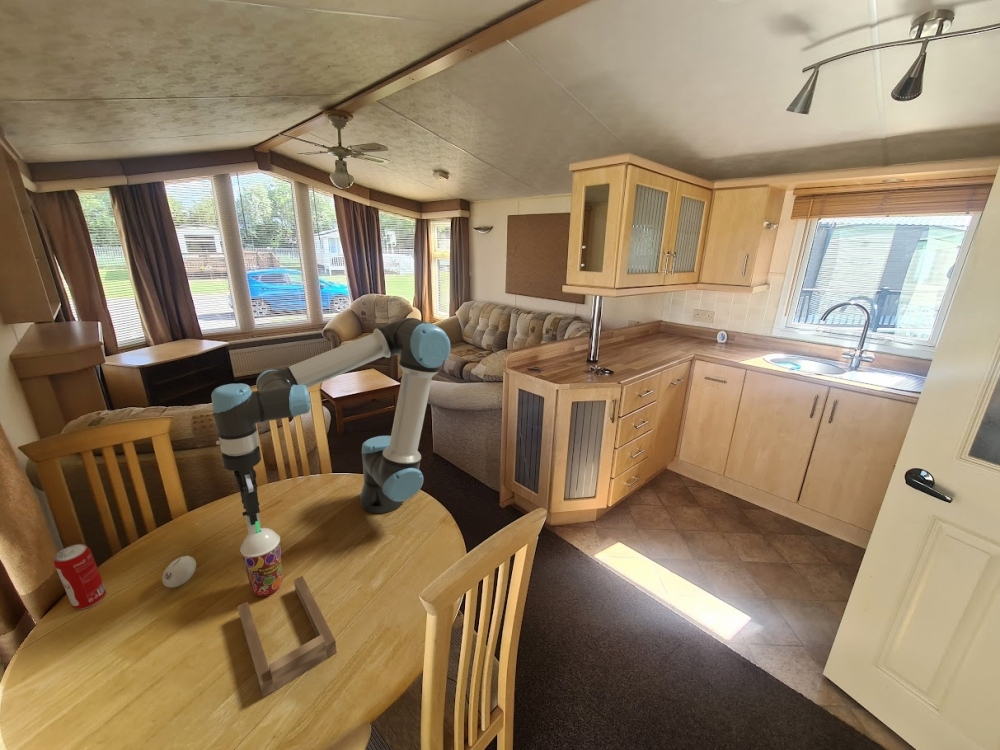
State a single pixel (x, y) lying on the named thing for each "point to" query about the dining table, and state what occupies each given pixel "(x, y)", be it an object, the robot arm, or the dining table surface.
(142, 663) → the dining table surface
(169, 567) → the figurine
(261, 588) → the smoothie
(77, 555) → the beverage can
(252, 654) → the u rest
